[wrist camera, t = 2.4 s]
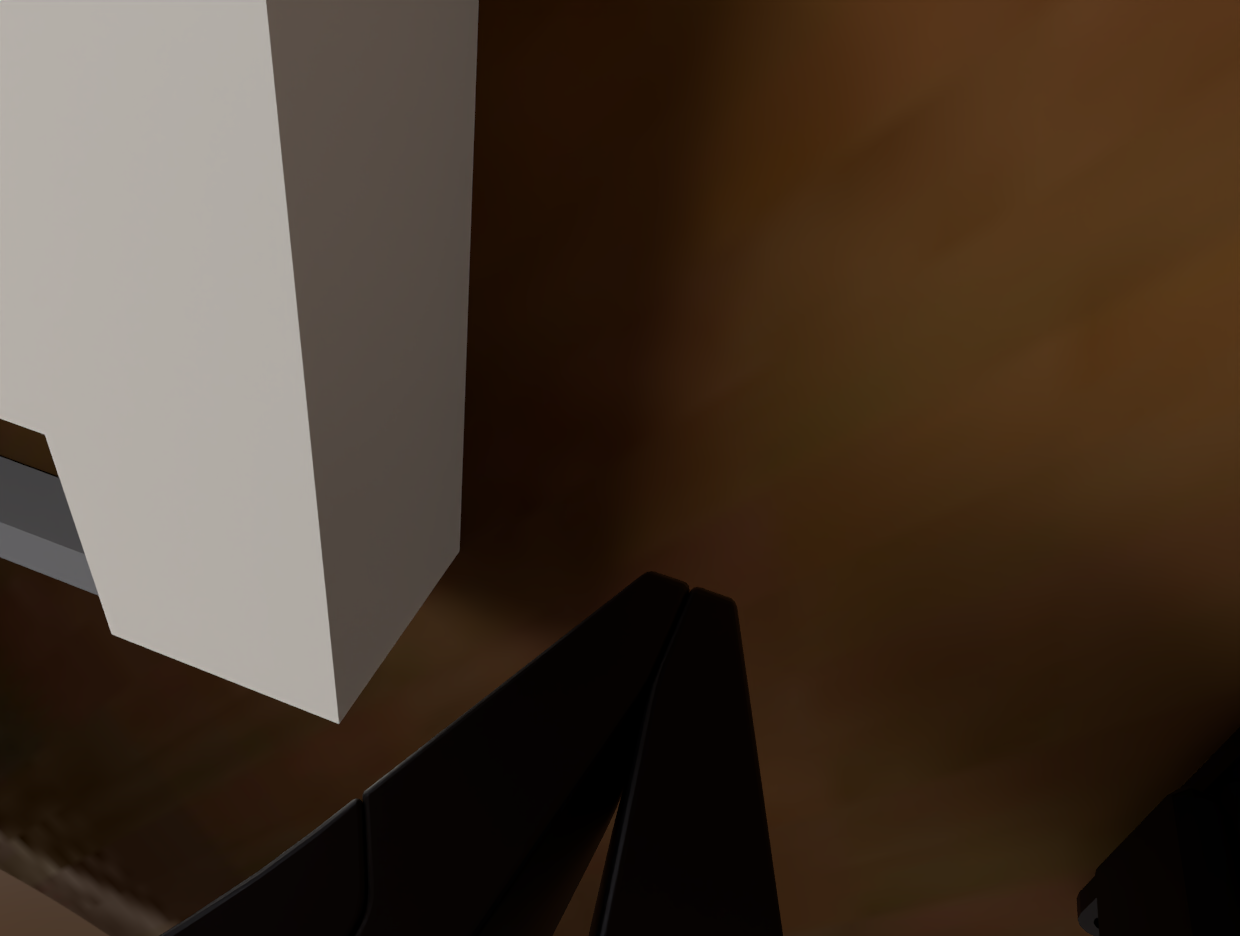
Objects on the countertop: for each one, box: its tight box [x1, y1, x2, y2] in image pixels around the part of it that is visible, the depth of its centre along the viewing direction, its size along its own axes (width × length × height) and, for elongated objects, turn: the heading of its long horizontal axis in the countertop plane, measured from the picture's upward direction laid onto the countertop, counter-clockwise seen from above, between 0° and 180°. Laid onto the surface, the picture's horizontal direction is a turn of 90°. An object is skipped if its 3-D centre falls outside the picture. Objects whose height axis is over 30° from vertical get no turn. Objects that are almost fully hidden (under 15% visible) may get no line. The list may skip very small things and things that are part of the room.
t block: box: [0, 0, 479, 724], centre depth 12 cm, size 11×12×4 cm
